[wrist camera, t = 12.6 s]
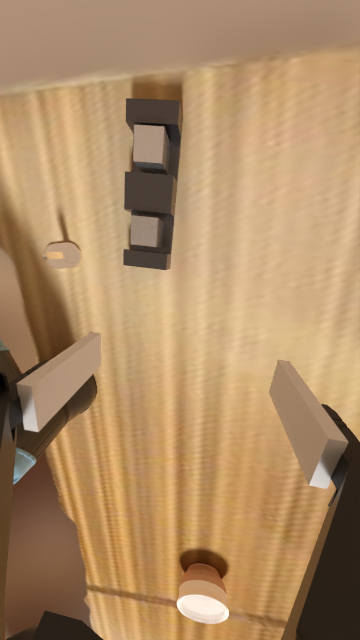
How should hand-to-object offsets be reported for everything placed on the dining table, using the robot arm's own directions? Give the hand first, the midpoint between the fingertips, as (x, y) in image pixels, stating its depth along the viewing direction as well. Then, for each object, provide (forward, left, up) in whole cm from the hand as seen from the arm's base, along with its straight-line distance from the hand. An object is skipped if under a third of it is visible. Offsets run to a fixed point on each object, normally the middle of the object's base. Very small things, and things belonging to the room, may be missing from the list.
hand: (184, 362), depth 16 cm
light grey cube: (-10, +10, -28) cm, 32 cm away
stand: (-29, +4, -29) cm, 41 cm away
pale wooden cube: (-10, +22, -28) cm, 37 cm away
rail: (-10, +16, -29) cm, 34 cm away
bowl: (+14, -96, -29) cm, 101 cm away
